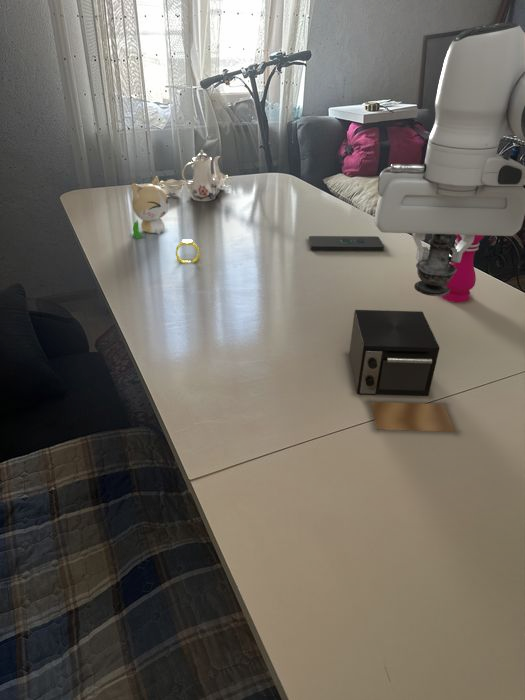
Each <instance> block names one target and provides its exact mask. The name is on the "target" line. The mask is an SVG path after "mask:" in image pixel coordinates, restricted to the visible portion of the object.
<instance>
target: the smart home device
mask: <svg viewBox="0 0 525 700" xmlns="http://www.w3.org/2000/svg"><path fill="white" fill-rule="evenodd" d="M308 244H309V248H310V249H309V250H310V251H313V252H314V251H315V252H384V248H385V245H384V243H383V242H382V240H381V239H380V236H376V235H375V236H370V235H369V236H368V235H361V236H359V235H357V236H355V235H353V236H352V235H337V236H336V235H309V236H308Z"/></svg>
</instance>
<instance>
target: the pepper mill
mask: <svg viewBox="0 0 525 700" xmlns="http://www.w3.org/2000/svg"><path fill="white" fill-rule="evenodd" d="M455 236H456V239H455V241H454V246H453V247H454V248H455V247H456V246H457V245H458V243H459V242H460V241H461V240H462V238H461V236H460V235H455ZM484 237H485V235H475V237H474V241H473V243H472V244H471V245H470V246H469V247H468V248H467V249H466V250H465V252H463V254H462V258H461V262H460V263H451V262H449V263H450V264H452V265H454V266H455V267H456V270H457V271H456V273H454V274H453V277H452V278H451V280H450V281H449V282H448V283H446V284H445V285H446V286H448V288H449V289H450V291H449V293H448V294H447V295H444V296H440V297H441V299H444V300H446V301H448V302H452V303H466V302H468V301H469V299H470V296H471V292H470V290H472V289H474V287H475V285H476V281H477V275H476V270H475V266H474V258H475V254H476V251H478V250H479V246H480V245H481V243H480V241H481V240H482V239H484Z"/></svg>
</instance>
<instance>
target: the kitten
mask: <svg viewBox="0 0 525 700" xmlns="http://www.w3.org/2000/svg"><path fill="white" fill-rule="evenodd" d="M131 191H132V203H131V204H132V210H133V212H134V214H135V215H136V217H137V218H139V220H142V222H141V225H140V226H141V227H139V220H136V221H134V223H133V226H132V232H133V235H132V236H133V237H134V238H136V239H141V238H142V233H141V232H140V231H139V230H140V229H141V230H142V231H143V232H145V233H149V234H155V233H156V234H157V235H159V234H161V233H164V232H165V229H166V227H165V222H164V221H163V219H162V218H163V217H164V216H165V215H167V213H168V212H169V210H170V201H169V196H167V195H166V193H165V192H164V190H163V189H162V188H161V185H160V180H159V177H158V175H156V176H154V178H153V179H152V181H151V182H150V183H148V184H143V185H140V184H137V183H135V182H133V183H131ZM139 228H140V229H139Z"/></svg>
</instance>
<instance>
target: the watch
mask: <svg viewBox="0 0 525 700" xmlns="http://www.w3.org/2000/svg"><path fill="white" fill-rule="evenodd" d="M182 246H193V247H194V248H195V249H196V251H197V255H196V257H195V258H194V259H192V261H191V260H188V259H187V260H184V259H182V258H181V257H180V256H179V254H178V252H179V251H178V250H179V249H180V247H182ZM175 257H176V260H178V262H180V263H181V264H187V263H188V264H189V263H191V262H192V263H196V262H197V261H198V260H199V258H200V249H199V246H198V245H197V244H196V243H195V242H194V240H193V239H191V238H185V239H182V240H181V242H180V243H178V245H177V246H176V248H175Z"/></svg>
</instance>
